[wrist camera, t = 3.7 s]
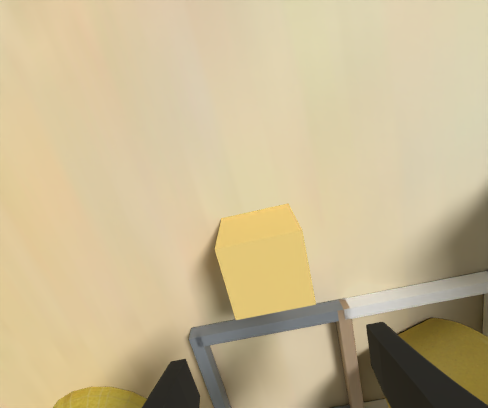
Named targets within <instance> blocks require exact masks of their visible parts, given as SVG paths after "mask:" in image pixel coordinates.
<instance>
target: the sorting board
mask: <svg viewBox="0 0 488 408" xmlns="http://www.w3.org/2000/svg"><path fill="white" fill-rule="evenodd" d="M481 294H484V307H483V333H482V334H483V335H485V336H487V337H488V271H484V272H478V273H473V274H468V275H463V276H458V277H453V278H447V279H442V280H437V281H432V282H427V283H422V284H416V285H411V286H406V287H401V288H396V289H391V290H385V291H380V292H375V293H370V294H365V295H359V296H354V297H349V298H344V299H339V300H334V301H328V302H323V303H318V304H316V305H311V306H306V307H301V308H296V309H291V310H286V311H281V312H276V313H270V314H265V315H260V316H255V317H250V318H245V319H240V320H236V319H235V320H230V321H225V322H220V323H215V324H209V325H204V326H199V327H194V328H191V332H190V336H189V341H190V344H191V347H192V349H193V352H194V355H195V357H196V360H197V363H198V365H199V368H200V371H201V373H202V376H203V379H204V382H205V384H206V387H207V390H208V392H209V395H210V398H211V400H212V403H213V406H214V408H231V406H230V403H229V400H228V397H227V394H226V391H225V388H224V386H223V383H222V380H221V377H220V374H219V371H218V368H217V365H216V362H215V360H214V357H213V354H212V351H211V348H210V345H214V344H219V343H225V342H230V341H235V340H241V339H246V338H251V337H257V336H262V335H267V334H273V333H278V332H283V331H289V330H294V329H299V328H305V327H310V326H315V325H321V324H326V323H331V322H336V325H337V332H338V338H339V344H340V350H341V356H342V363H343V369H344V375H345V381H346V387H347V394H348V400H349V405H345V406H339V407H333V408H389V407H388V404H387V401H386V399H382V400H376V401H370V402H363V396H362V389H361V382H360V374H359V367H358V360H357V353H356V346H355V338H354V331H353V324H352V319H353V318H358V317H363V316H369V315H374V314H379V313H385V312H390V311H395V310H401V309H406V308H411V307H417V306H422V305H427V304H433V303H438V302H443V301H449V300H454V299H459V298H465V297H470V296H475V295H481Z"/></svg>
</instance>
